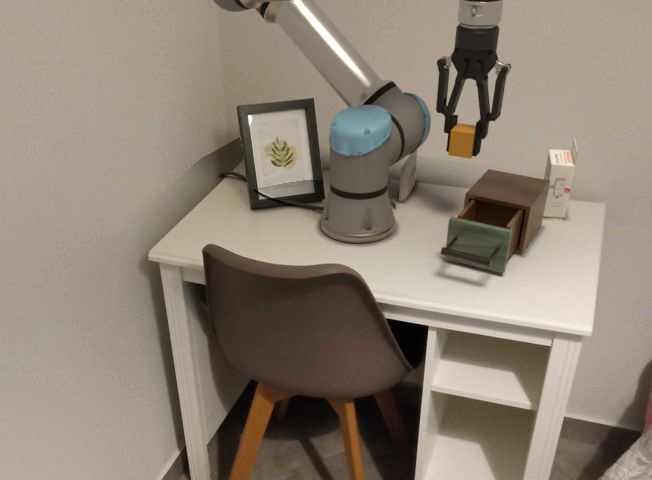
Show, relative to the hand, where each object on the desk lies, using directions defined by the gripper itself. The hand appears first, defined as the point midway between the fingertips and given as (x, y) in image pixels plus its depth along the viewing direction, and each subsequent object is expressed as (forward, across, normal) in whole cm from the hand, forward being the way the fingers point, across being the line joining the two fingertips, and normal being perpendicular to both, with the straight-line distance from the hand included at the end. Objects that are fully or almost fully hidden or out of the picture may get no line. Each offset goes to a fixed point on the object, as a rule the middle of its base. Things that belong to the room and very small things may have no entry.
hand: (463, 151), depth 139 cm
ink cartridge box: (+15, +16, +15) cm, 27 cm away
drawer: (+14, +10, -15) cm, 23 cm away
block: (0, 0, 0) cm, 0 cm away
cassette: (+15, -15, +10) cm, 23 cm away
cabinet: (+15, +10, -1) cm, 18 cm away
